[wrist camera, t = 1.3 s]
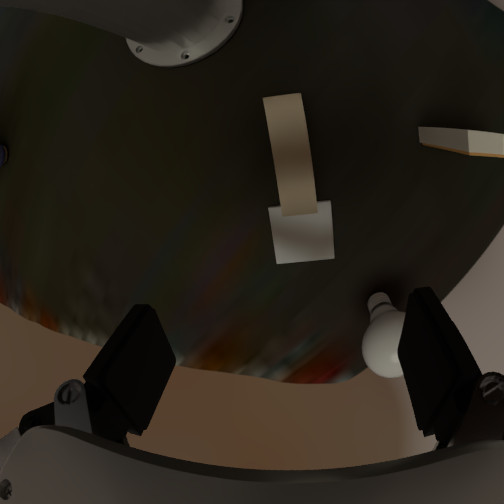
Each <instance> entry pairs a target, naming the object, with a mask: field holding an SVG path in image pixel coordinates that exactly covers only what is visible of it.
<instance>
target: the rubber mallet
mask: <svg viewBox="0 0 504 504" xmlns="http://www.w3.org/2000/svg"><path fill="white" fill-rule="evenodd" d="M6 160H7V149H6V147H5V146H3V145H0V167H1V166H2V165H3V164H4V163H5V162H6Z"/></svg>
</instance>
